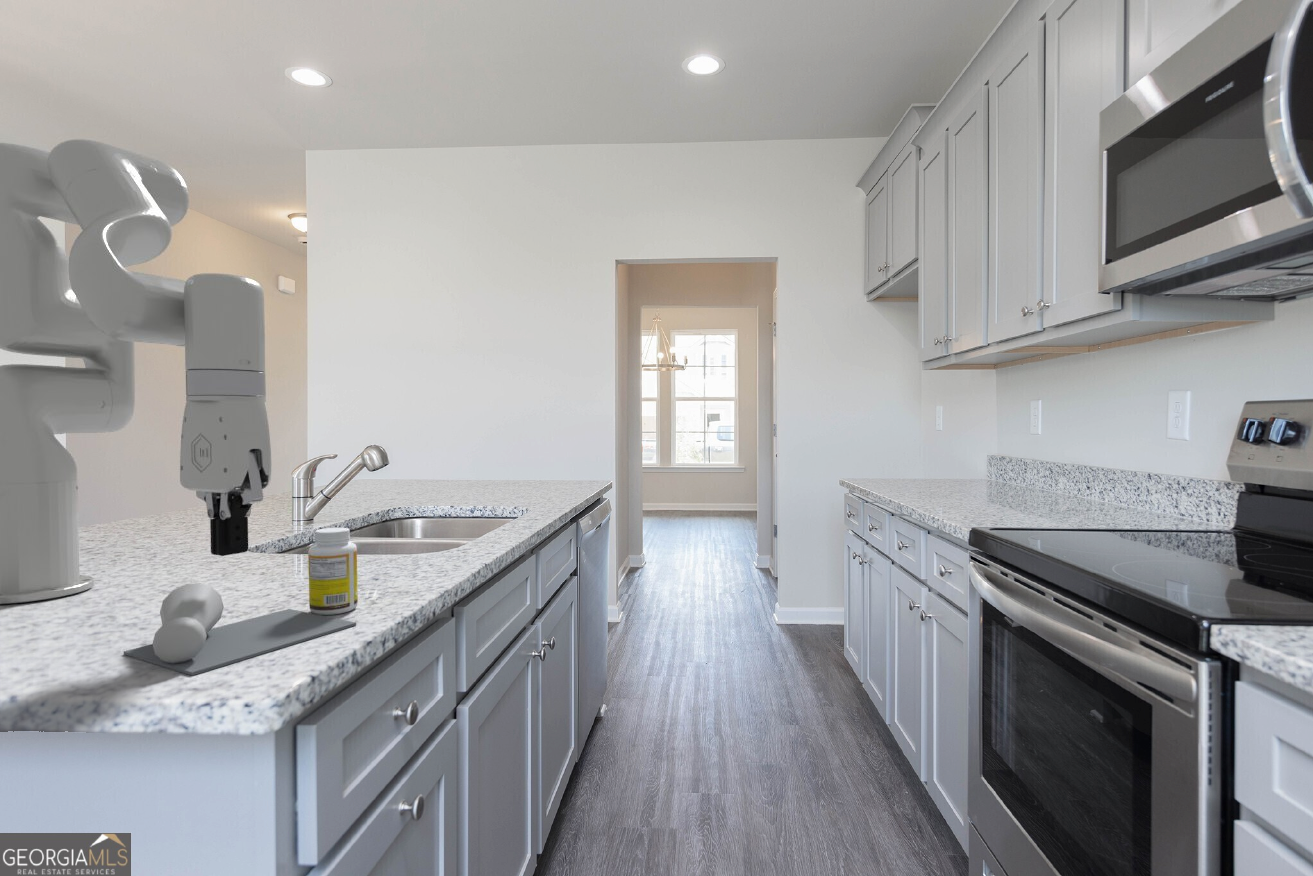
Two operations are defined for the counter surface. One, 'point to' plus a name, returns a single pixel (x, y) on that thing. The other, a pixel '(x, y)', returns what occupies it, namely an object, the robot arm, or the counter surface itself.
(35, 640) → the counter surface
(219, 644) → the mat
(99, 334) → the robot arm
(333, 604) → the supplement bottle
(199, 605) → the salt shaker
